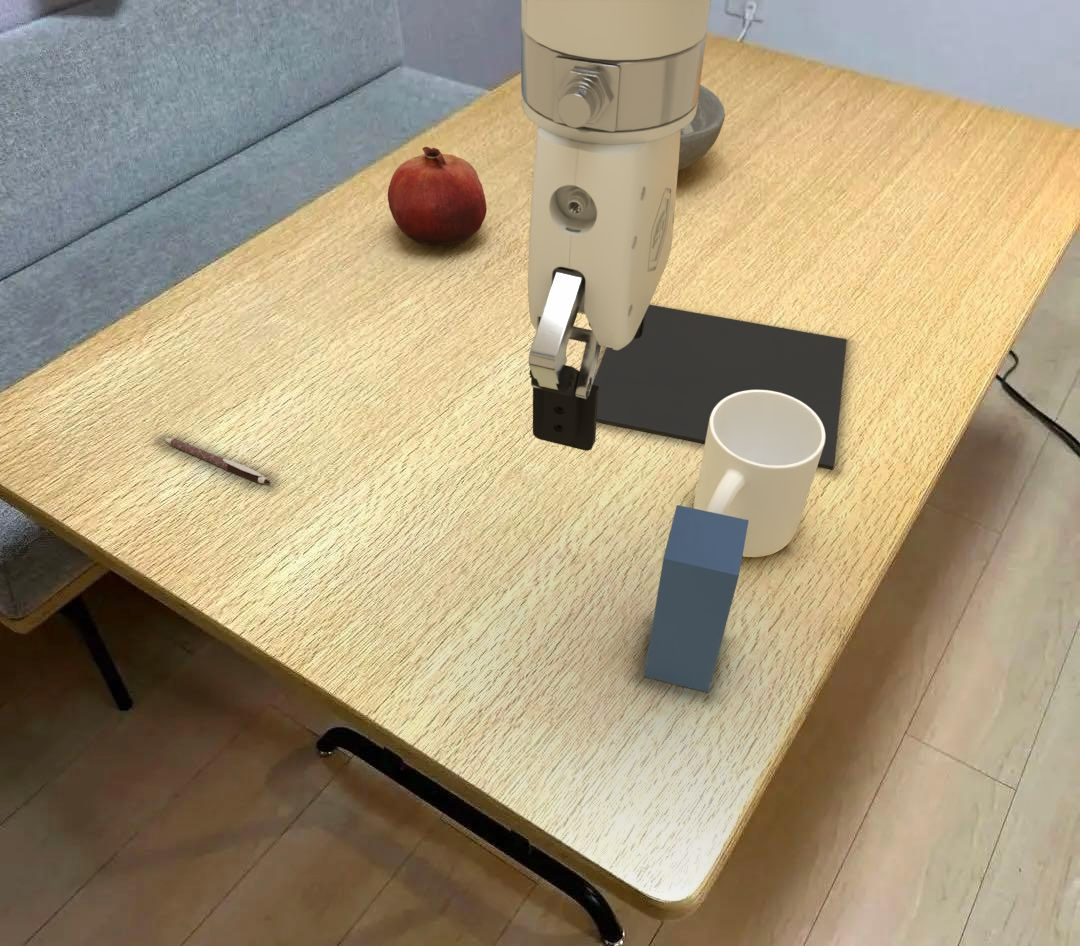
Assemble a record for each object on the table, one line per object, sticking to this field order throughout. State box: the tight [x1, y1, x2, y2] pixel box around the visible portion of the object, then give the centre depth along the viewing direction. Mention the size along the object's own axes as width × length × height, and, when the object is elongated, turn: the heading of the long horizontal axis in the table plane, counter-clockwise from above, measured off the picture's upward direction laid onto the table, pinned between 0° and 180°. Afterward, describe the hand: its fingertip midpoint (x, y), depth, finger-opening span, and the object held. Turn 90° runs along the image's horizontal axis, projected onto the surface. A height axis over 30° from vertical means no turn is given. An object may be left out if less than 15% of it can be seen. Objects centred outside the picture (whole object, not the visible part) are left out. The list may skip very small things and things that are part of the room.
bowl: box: [678, 84, 726, 172], centre depth 113 cm, size 18×18×8 cm
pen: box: [164, 437, 271, 485], centre depth 79 cm, size 11×1×1 cm, turn 63°
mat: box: [593, 304, 848, 470], centre depth 87 cm, size 22×18×1 cm
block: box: [643, 504, 749, 693], centre depth 62 cm, size 4×4×13 cm
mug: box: [693, 390, 825, 558], centre depth 71 cm, size 12×8×10 cm
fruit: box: [387, 146, 488, 246], centre depth 100 cm, size 11×10×10 cm
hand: (591, 383), depth 52 cm, fingers open, 9 cm apart
